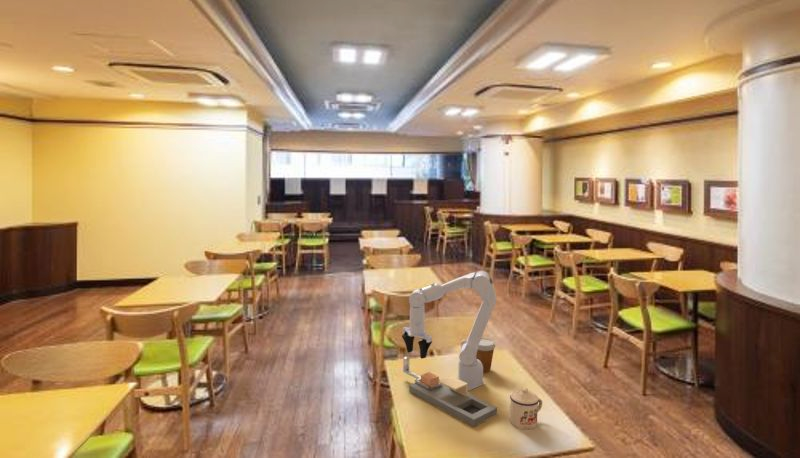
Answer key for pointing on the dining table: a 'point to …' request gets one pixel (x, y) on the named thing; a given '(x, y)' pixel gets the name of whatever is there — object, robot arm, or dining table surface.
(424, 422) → the dining table surface
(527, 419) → the teacup with lid
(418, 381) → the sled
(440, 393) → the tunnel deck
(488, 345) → the disposable coffee cup
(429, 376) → the terracotta block
